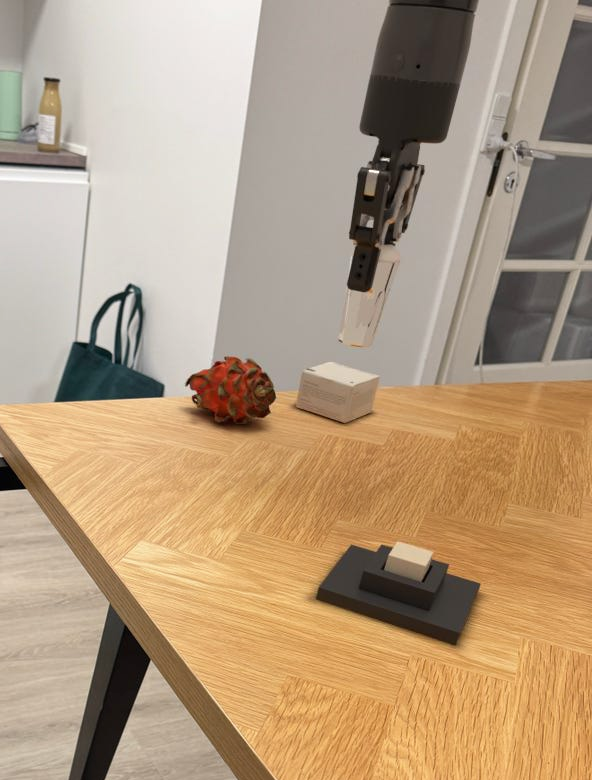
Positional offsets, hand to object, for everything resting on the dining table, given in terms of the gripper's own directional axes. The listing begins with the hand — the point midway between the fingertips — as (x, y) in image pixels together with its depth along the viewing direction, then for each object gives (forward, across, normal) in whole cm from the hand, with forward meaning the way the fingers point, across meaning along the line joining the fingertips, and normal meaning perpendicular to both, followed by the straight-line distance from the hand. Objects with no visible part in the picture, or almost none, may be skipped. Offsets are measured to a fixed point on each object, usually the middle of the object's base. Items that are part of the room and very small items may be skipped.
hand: (366, 285), depth 85 cm
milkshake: (+6, 0, 0) cm, 6 cm away
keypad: (+21, -17, -13) cm, 31 cm away
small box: (+22, +28, +8) cm, 36 cm away
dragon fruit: (+22, +14, +17) cm, 31 cm away
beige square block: (+19, -17, -13) cm, 29 cm away
